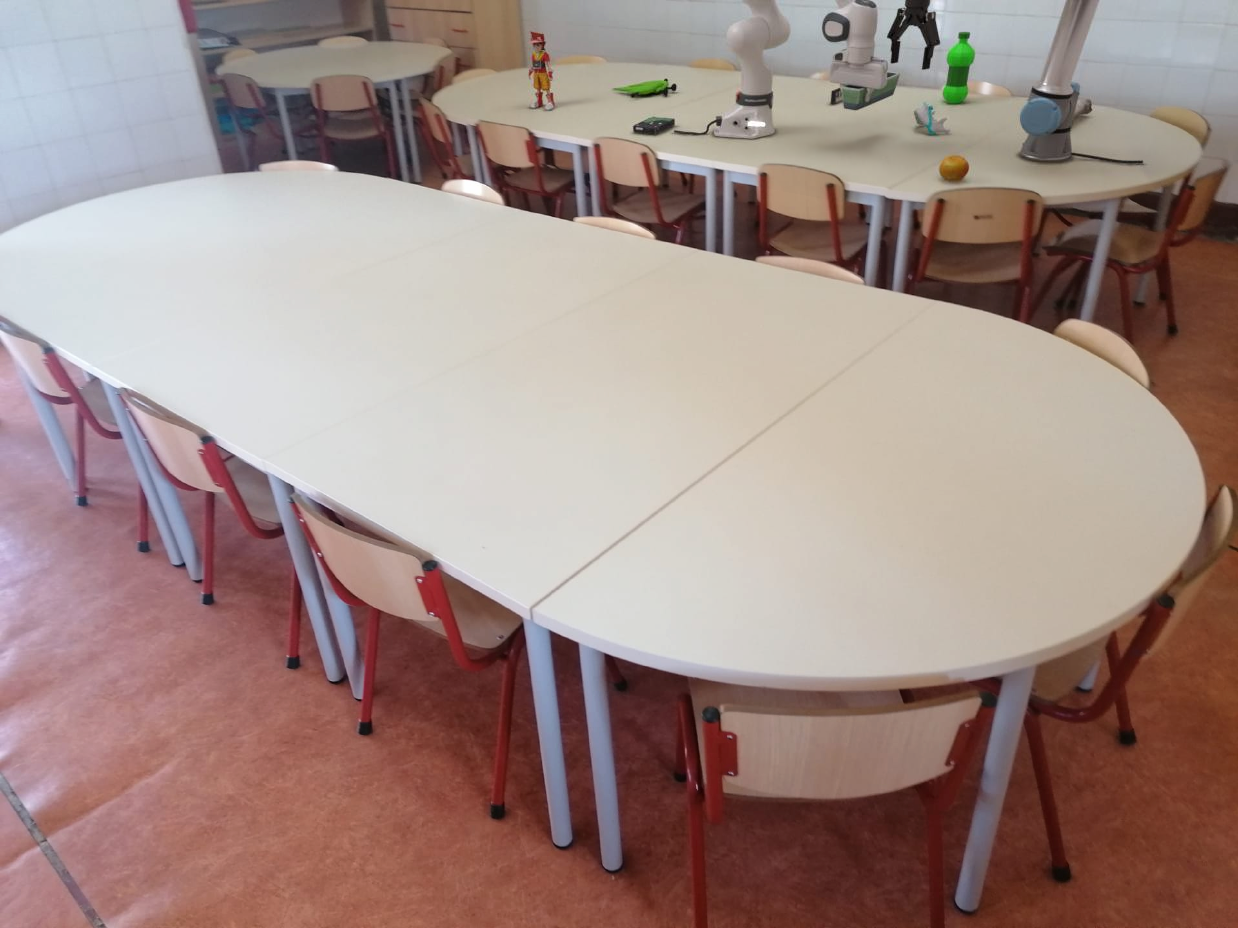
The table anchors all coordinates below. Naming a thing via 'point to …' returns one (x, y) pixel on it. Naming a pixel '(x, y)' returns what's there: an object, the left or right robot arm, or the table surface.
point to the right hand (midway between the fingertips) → (909, 66)
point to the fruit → (954, 168)
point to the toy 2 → (648, 88)
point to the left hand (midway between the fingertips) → (855, 99)
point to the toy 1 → (541, 71)
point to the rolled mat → (1082, 107)
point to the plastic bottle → (958, 69)
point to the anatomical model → (929, 119)
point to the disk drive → (653, 125)
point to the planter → (855, 93)
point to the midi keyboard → (836, 96)
